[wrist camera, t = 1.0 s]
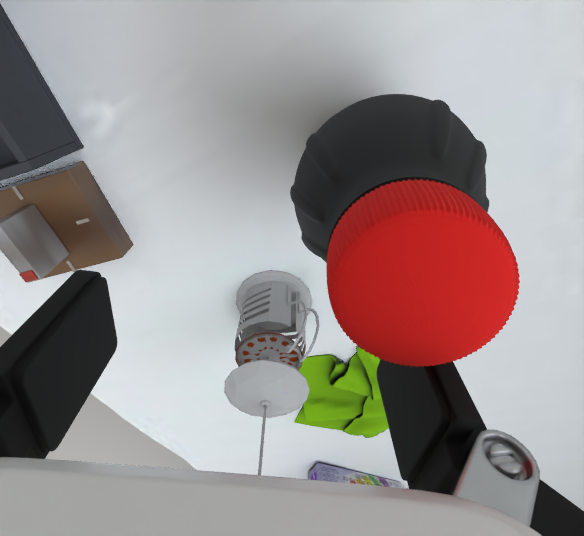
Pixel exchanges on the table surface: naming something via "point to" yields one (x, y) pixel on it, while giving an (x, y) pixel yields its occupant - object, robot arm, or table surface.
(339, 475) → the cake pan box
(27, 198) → the block
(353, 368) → the cloth
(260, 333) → the french press
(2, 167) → the dark grey open box
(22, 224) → the tap handle
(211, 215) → the table surface
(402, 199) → the cola bottle
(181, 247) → the table surface
